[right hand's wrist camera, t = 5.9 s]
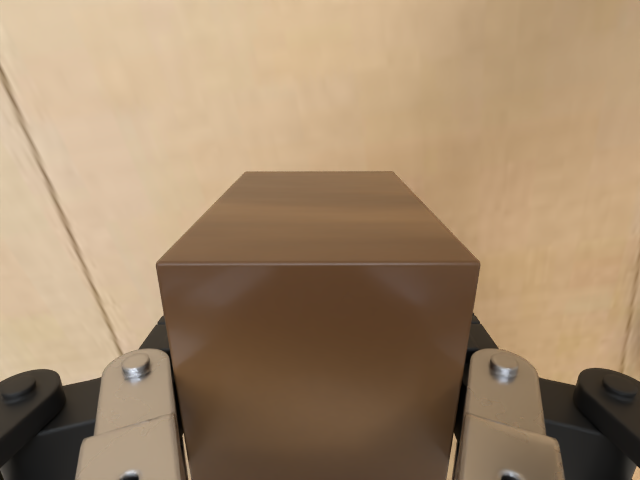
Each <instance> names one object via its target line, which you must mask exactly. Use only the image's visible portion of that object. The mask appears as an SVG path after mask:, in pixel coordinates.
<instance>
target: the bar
mask: <svg viewBox="0 0 640 480" xmlns="http://www.w3.org/2000/svg"><path fill="white" fill-rule="evenodd" d="M156 269H157V275H158V281H159V287H160V293H161V299H162V305H163V311H164V317H165V323H166V329H167V335H168V342H169V348H170V354H171V360H172V366H173V372H174V378H175V384H176V390H177V396H178V402H179V408H180V414H181V420H182V426H183V432H184V438H185V444H186V450H187V456H188V462H189V468H190V474H191V480H446V478H447V471H448V465H449V459H450V452H451V446H452V440H453V434H454V427H455V421H456V415H457V408H458V402H459V396H460V390H461V383H462V377H463V371H464V364H465V358H466V352H467V346H468V339H469V333H470V327H471V320H472V314H473V308H474V302H475V295H476V289H477V283H478V276H479V270H480V262H479V261H478V260H477V259H476V258H475V256H474V255H473V254H472V253H471V252H470V251H469V250H468V249H467V248H466V247H465V246H464V245H463V244H462V243H461V242H460V241H459V240H458V239H457V238H456V237H455V236H454V235H453V234H452V233H451V232H450V230H449V229H448V228H447V227H446V226H445V225H444V224H443V223H442V222H441V221H440V220H439V219H438V218H437V217H436V216H435V215H434V214H433V213H432V212H431V211H430V210H429V209H428V208H427V207H426V206H425V204H424V203H423V202H422V201H421V200H420V199H419V198H418V197H417V196H416V195H415V194H414V193H413V192H412V191H411V190H410V189H409V188H408V187H407V186H406V185H405V184H404V183H403V182H402V181H401V180H400V178H399V177H398V176H397V175H396V174H395V173H394V172H392V171H389V172H245V173H244V174H243V175H242V176H241V177H240V178H239V179H238V180H237V181H236V182H235V183H234V184H233V185H232V186H231V187H230V188H229V189H228V190H227V191H226V192H225V193H224V194H223V195H222V196H221V197H220V198H219V199H218V200H217V201H216V202H215V203H214V204H213V205H212V206H211V207H210V208H209V209H208V210H207V211H206V212H205V213H204V214H203V215H202V217H201V218H200V219H199V220H198V221H197V222H196V223H195V224H194V225H193V226H192V227H191V228H190V229H189V230H188V231H187V232H186V233H185V234H184V235H183V236H182V237H181V238H180V239H179V240H178V241H177V242H176V243H175V244H174V245H173V246H172V247H171V248H170V249H169V250H168V251H167V252H166V253H165V254H164V255H163V256H162V257H161V258H160V259H159V260H158V261H157V263H156Z"/></svg>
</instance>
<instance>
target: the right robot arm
mask: <svg viewBox="0 0 640 480" xmlns="http://www.w3.org/2000/svg"><path fill="white" fill-rule="evenodd" d="M183 433H184V432H183V426H182V420H181V414H180V408H179V402H178V396H177V390H176V384H175V378H174V372H173V366H172V360H171V354H170V348H169V342H168V335H167V329H166V323H165V317H164V316H162V317H161V319H160V320H159V321H158V325H156V326H155V327H154V328H153V330H152V331H151V333H150V334H149V335H148V337H147V338H146V339H145V341H144V342H143V344H142V345H141V346H140V348H139V349H138V350H135V351H131V352H129V353H126V354H124V355H122V356H120V357H118V358H116V359H115V360H113V361H112V362H111V363H110V364H109V365H108V366H107V367H106V368H105V369H104V371H103V374H102V377H100V378H97V379H93V380H89V381H84V382H79V383H75V384H70V385H65V386H62V383H61V379H60V376H59V374H58V373H57V372H55V371H53V370H48V369H37V370H31V371H27V372H23V373H20V374H17V375H14V376H12V377H9V378H7V379H5V380H3V381H1V382H0V470H1V473H2V475H3V478H4V480H188V474H187V466H186V458H185V450H184V443H183V437H182V435H183ZM454 434H455V436H456V439H457V443H456V450H455V458H454V466H453V474H452V480H632V476H633V474H634V471H635V469H636V466H638V467H639V468H640V382H639V381H637V380H636V379H634V378H632V377H629V376H627V375H625V374H622V373H619V372H616V371H613V370H608V369H602V368H590V369H586V370H583V371H582V372H581V373H580V374H579V376H578V380H577V383H576V386H575V385H571V384H566V383H561V382H556V381H551V380H547V379H543V378H539V377H538V374H537V371H536V369H535V368H534V367H533V366H532V365H531V364H530V363H529V362H528V361H527V360H525V359H524V358H522V357H520V356H518V355H516V354H514V353H511V352H509V351H505V350H501V349H499V348H498V347H497V346H496V344H495V343H494V341H493V340H492V339H491V337H490V336H489V334H488V333H487V331H486V330H485V329H484V327H483V326H482V324H480V322H479V320H478V319H477V317H476V316H474V313H473V314H472V320H471V327H470V333H469V339H468V346H467V352H466V358H465V364H464V371H463V377H462V383H461V390H460V396H459V402H458V408H457V415H456V421H455V427H454Z"/></svg>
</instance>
